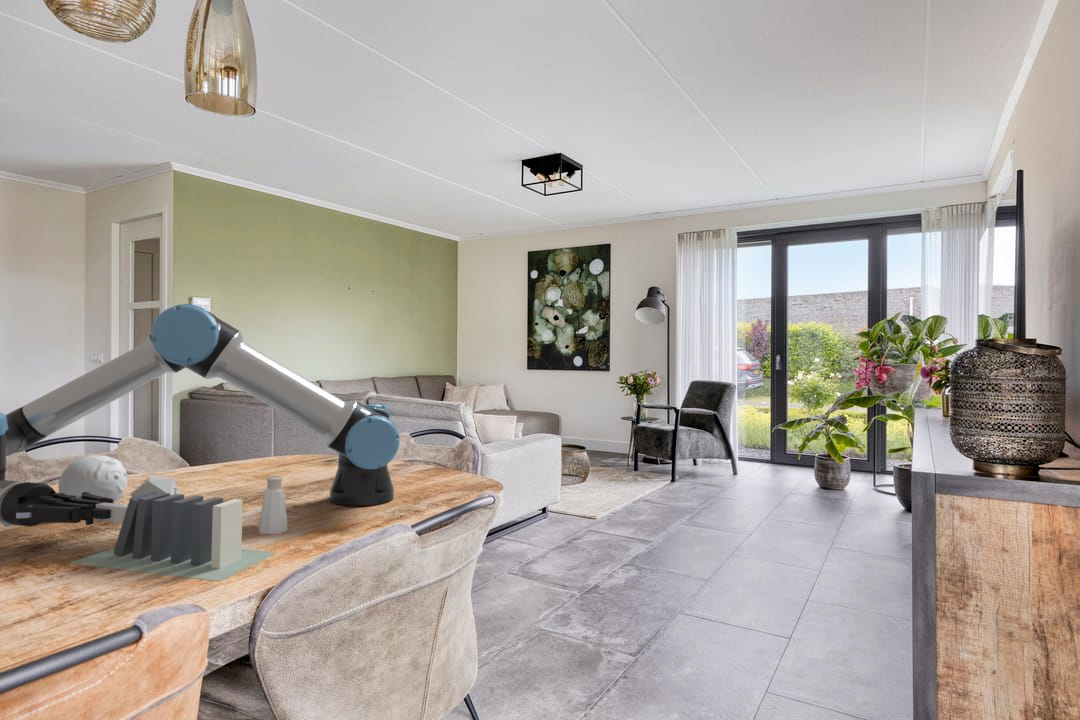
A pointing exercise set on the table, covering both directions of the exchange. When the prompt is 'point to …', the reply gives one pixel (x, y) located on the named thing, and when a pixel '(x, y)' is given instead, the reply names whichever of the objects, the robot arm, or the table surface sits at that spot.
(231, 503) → the domino
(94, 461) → the decorative ball
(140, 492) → the die
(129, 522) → the domino
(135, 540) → the domino
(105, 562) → the felt mat
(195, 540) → the domino
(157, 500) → the domino
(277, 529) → the salt shaker
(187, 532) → the domino
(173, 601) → the table surface
